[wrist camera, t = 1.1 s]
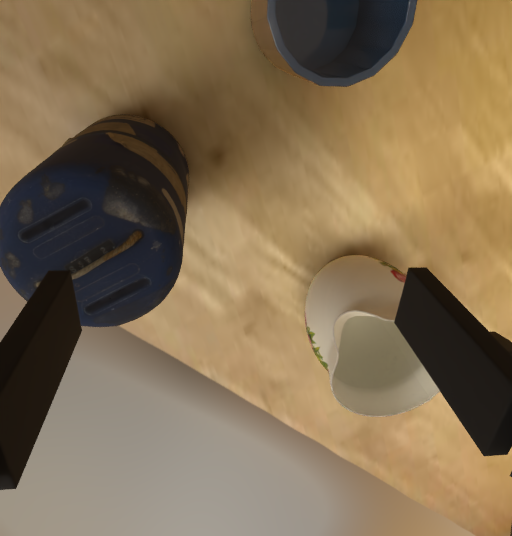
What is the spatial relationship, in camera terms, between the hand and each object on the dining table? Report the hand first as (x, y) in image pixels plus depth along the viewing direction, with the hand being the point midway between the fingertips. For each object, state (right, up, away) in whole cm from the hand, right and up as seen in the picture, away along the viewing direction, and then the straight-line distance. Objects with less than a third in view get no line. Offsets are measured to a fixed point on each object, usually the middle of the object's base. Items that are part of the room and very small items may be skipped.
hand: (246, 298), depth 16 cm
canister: (-10, +10, +19) cm, 24 cm away
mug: (+4, +23, +14) cm, 27 cm away
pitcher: (+10, -1, +28) cm, 30 cm away
